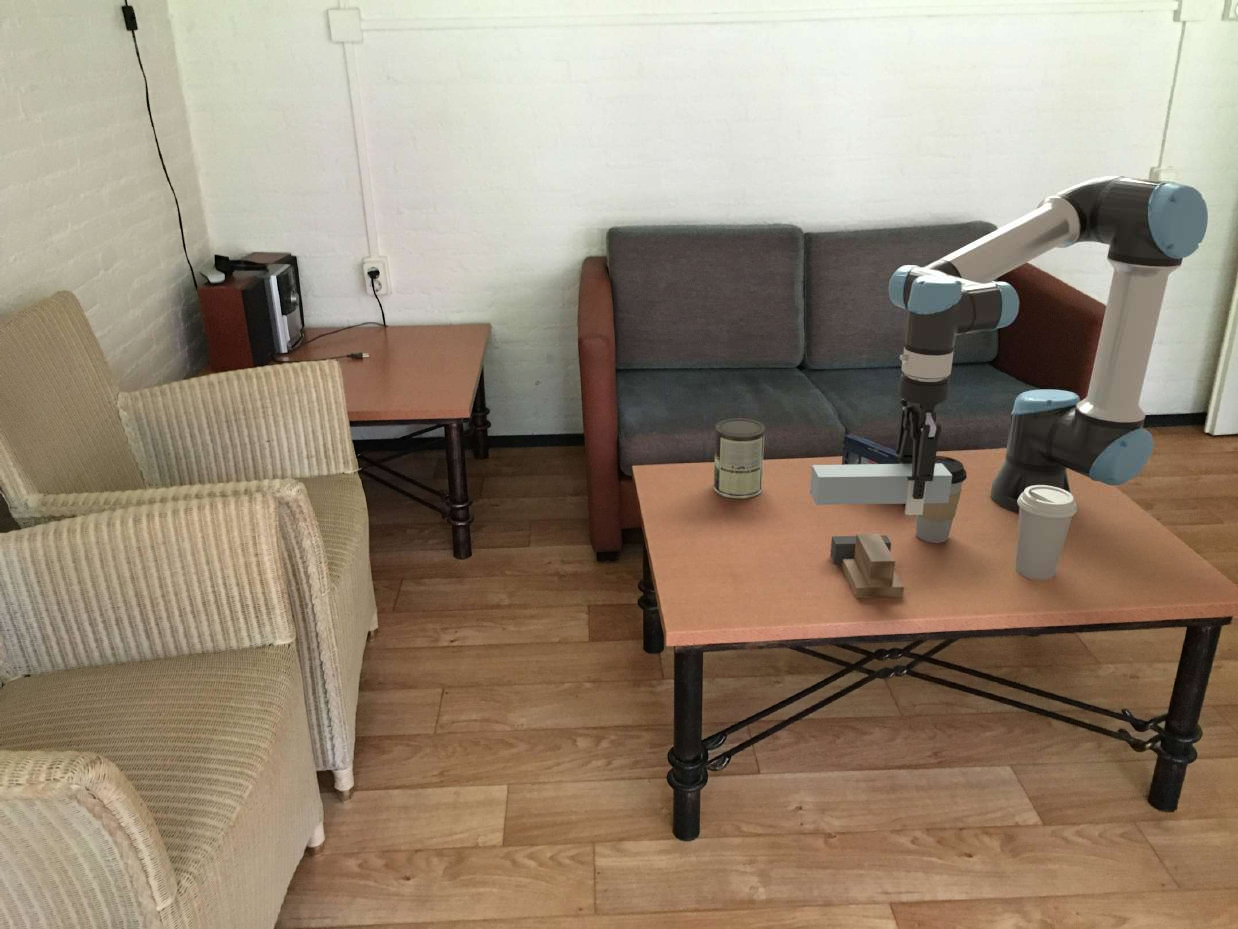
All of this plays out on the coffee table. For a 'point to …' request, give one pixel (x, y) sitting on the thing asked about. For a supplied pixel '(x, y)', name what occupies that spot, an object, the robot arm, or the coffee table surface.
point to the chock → (848, 547)
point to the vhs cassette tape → (866, 452)
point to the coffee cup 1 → (941, 506)
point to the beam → (873, 484)
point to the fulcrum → (872, 569)
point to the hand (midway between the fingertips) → (908, 506)
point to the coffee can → (738, 458)
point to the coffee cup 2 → (1042, 529)
